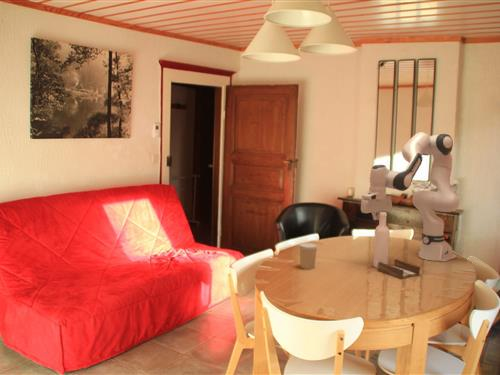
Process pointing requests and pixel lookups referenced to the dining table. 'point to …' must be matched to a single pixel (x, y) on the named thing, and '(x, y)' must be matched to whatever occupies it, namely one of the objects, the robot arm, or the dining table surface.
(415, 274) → the cradle
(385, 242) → the bottle
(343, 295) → the dining table surface
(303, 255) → the coffee cup
